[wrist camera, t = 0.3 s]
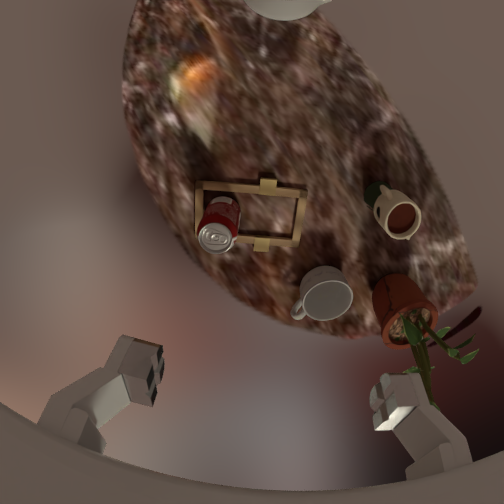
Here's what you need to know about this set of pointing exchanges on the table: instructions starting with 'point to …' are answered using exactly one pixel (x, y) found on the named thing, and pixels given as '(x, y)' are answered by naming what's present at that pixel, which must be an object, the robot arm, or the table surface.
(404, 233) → the character mug
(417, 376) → the robot arm
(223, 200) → the soda can
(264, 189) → the wooden rectangular frame
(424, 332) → the potted plant
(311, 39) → the table surface
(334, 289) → the teacup
